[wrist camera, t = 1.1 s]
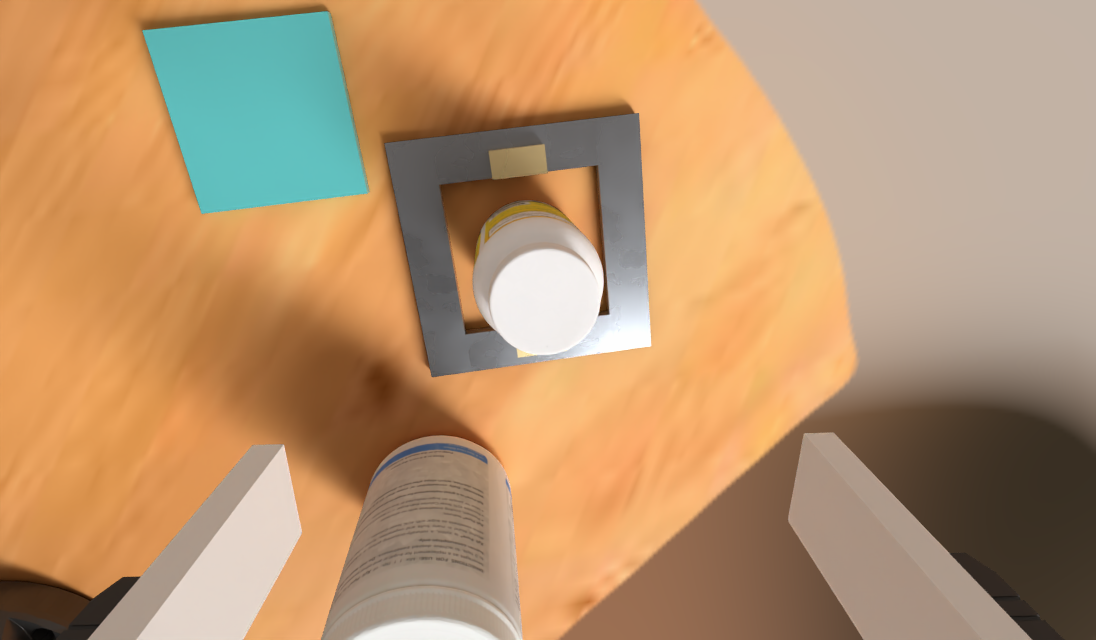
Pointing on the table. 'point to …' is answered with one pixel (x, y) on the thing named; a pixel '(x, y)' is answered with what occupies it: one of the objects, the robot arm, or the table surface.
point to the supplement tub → (431, 550)
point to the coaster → (260, 110)
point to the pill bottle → (537, 278)
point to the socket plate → (517, 155)
